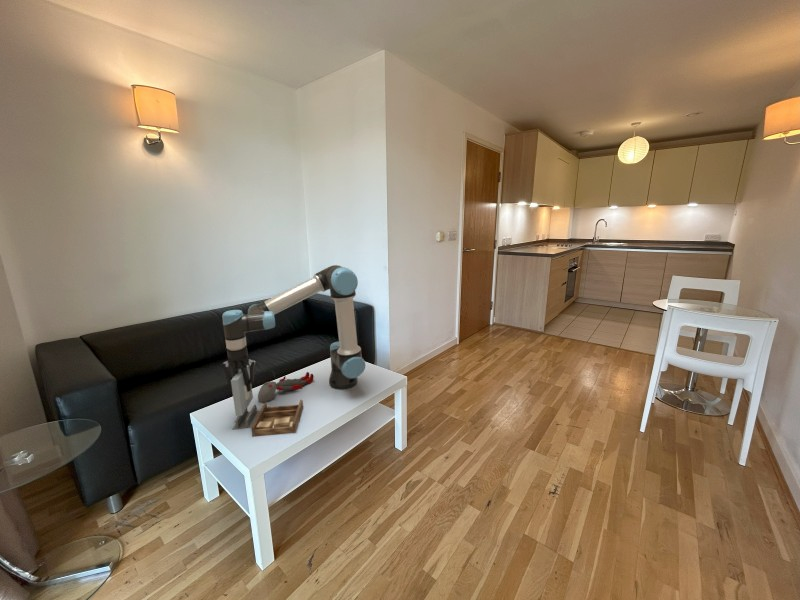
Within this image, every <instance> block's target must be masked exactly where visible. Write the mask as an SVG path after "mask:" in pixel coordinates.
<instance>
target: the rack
mask: <svg viewBox="0 0 800 600" xmlns="http://www.w3.org/2000/svg"><path fill="white" fill-rule="evenodd" d="M303 401H304V400H303V399H300V400H299V402H298V404H289V405H278V406H277V405H276V406H268V404H267V402H268V401H267V402H263V404H262V407H261V408H260V410H259V411H260V412H259V414H258V416H257V418H256V420H255V422H254V423H253V425H252V427H251V428H250V429H251V436H252V437H262V436H263V437H264V436H274V435H284V434H285V435H286V434H287V435H288V434H296V433H297V430H298V426H299V423H300V419H301V415H302V413H303V410H304V403H303ZM288 417H290V422H293V423H292V426H289V427H278V428H266V429H257V428H256V427H257V425H258V424H259V422H272V427H273V425H274V421H275V419H281V418H288Z"/></svg>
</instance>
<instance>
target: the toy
mask: <svg viewBox="0 0 800 600" xmlns="http://www.w3.org/2000/svg"><path fill="white" fill-rule="evenodd" d="M314 377H315V376H314V374H313V373H311V374H310V372H308V371H307V372H306V373H305V375H304V376H301V377H299V378H293V379H292V378H287V377H286V375H284V376H283V378H281V379H279V380H278V382H276V381H267V382H266V381H265V382H264V383H263V384H262V385H261V387H260V388H259V391H258V394H257V400H258V402H260V403H264V402H270V401H272V400H273V399H274V396H275V393H276V391H297V390H302V389H303V388H304V386H305V385H308V384H311V383H314Z"/></svg>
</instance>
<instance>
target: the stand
mask: <svg viewBox="0 0 800 600" xmlns="http://www.w3.org/2000/svg"><path fill="white" fill-rule="evenodd" d="M257 408H258V407H257V404H254V405H253V406H252V408H251V410H250V411H248V408H247V409H246V410H245V412H244V414H243V415H241V416H236V417H237V418H236V419H235V422H234V423H235V424H234V425H233V427H232V429H231V430H232V431H233V430H244V429H251V427H252V425H253V423H254V422H255V420H256V418H257V416H258V414H259V412H260V410H258V409H257Z"/></svg>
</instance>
